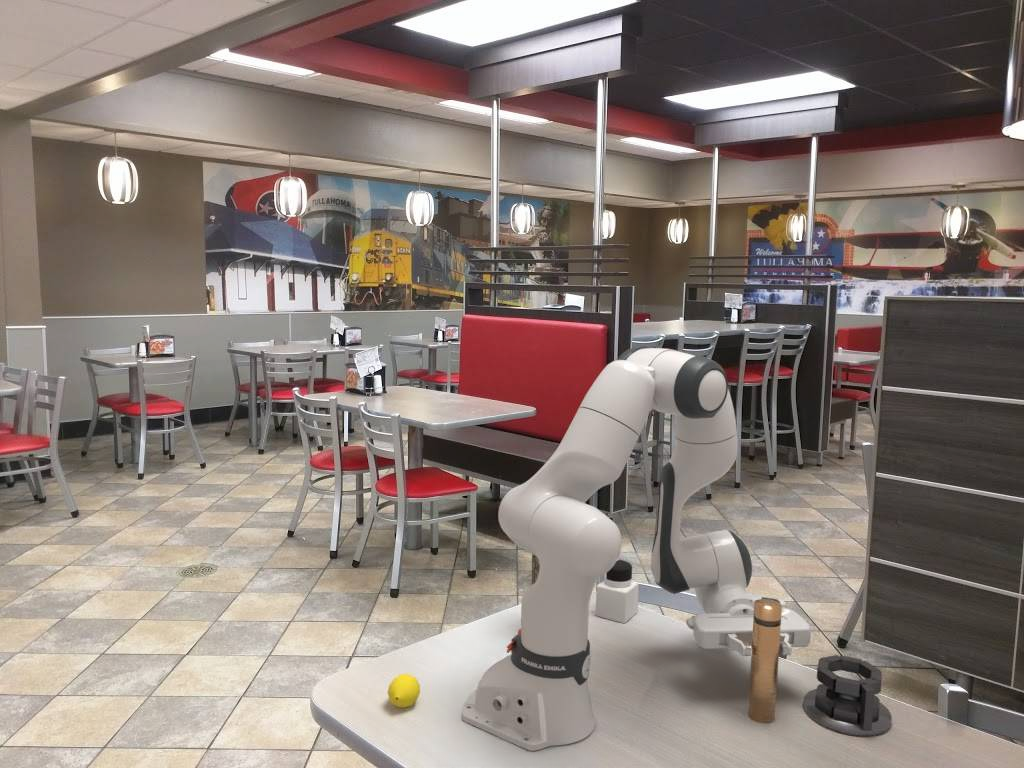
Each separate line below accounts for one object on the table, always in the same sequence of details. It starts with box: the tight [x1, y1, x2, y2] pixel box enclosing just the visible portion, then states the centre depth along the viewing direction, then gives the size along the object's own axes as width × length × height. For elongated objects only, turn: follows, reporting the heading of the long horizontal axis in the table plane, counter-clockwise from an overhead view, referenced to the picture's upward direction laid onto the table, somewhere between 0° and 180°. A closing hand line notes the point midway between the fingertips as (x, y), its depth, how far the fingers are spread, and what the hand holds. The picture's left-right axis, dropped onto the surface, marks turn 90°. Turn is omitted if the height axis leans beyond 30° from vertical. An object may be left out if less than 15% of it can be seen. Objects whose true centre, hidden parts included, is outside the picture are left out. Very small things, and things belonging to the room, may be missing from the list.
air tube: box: [747, 599, 782, 724], centre depth 133 cm, size 4×4×20 cm
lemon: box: [387, 673, 421, 709], centre depth 136 cm, size 7×5×5 cm
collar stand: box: [802, 654, 892, 738], centre depth 135 cm, size 14×14×8 cm
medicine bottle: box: [595, 559, 639, 624], centre depth 174 cm, size 7×7×12 cm
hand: (767, 651), depth 132 cm, fingers open, 5 cm apart
